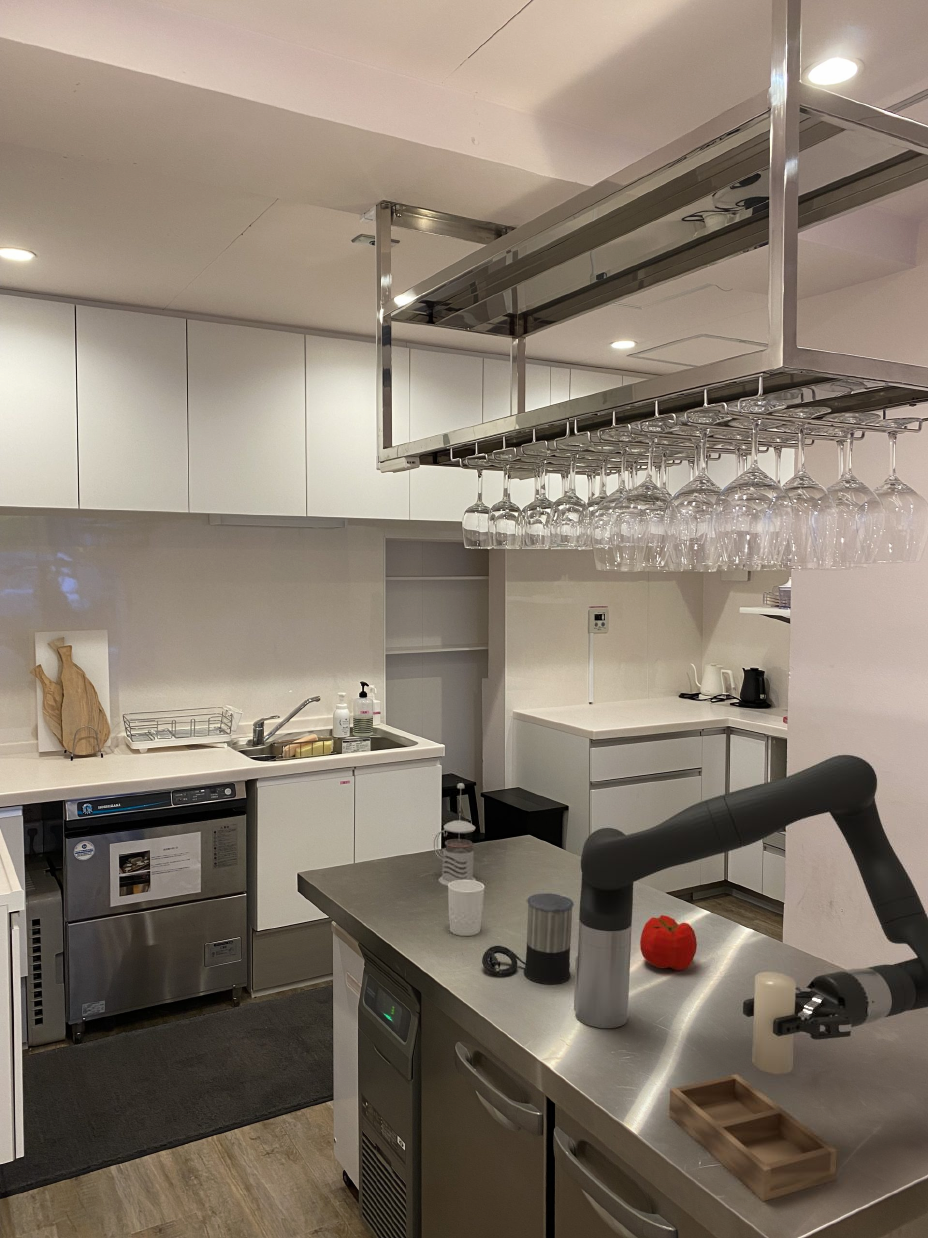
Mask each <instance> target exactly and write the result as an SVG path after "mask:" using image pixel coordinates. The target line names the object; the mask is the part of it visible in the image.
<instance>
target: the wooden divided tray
mask: <svg viewBox="0 0 928 1238" xmlns="http://www.w3.org/2000/svg"><path fill="white" fill-rule="evenodd" d="M668 1108H669V1109H668V1110H669V1111H668V1116H669V1117H670V1118H671V1119H672V1120H673V1121H674V1122H675V1123H677V1125H679V1126H680V1127H681V1128H682V1129H683V1130H684V1131H685V1132H686V1133H687V1134H689V1135H690V1137H692V1138H693V1139H694V1140H695V1141H696V1142H698V1143H699V1145H700V1146H702V1147H703V1148H704V1149H705V1150H706V1151H707V1152H708V1153H709V1154H711V1156H713V1158H715V1159H716V1160H717V1161H718V1162H719V1163H721V1164H722V1165H723V1166H724V1167H725V1168H727V1169H728V1172H729V1171H730V1173H732V1175H734V1176H735V1177H736V1178H737V1179H738V1180H739V1181H740V1182H742V1184H744V1185H745V1186H746V1187H747V1188H748V1189H749V1190H750V1191H751V1192H753V1193H754V1194H755V1195H756V1196H757V1197H758V1198H759V1199H760V1200H761V1201H763V1202H765V1201H769V1200H772V1199H775V1198H778V1197H781V1196H785V1195H788V1194H793V1193H795V1192H796V1193H797V1192H799V1191H803V1190H805V1189H808V1188H809V1189H810V1188H812V1187H815V1186H818V1185H823V1184H825V1183H830V1182H833V1181H836V1171H837V1156H838V1155H837V1153H838V1150H837V1149H836V1148H835V1147H833V1146H832V1145H831V1144H829V1143H828V1142H826V1140H824V1139H823V1138H821V1137H820V1136H819V1135H817V1134H816V1133H815V1132H814V1131H812V1130H811V1129H809V1128H808V1127H807V1126H805V1125H804V1124H803V1123H801V1122H800V1121H799V1120H798V1119H796V1118H795V1117H794V1116H792V1115H791V1114H790V1113H789V1112H787V1111H786V1110H784V1108H782V1107H781V1106H779V1105H777V1103H775V1102H774V1101H772V1100H771V1099H770V1098H769V1097H767V1096H766V1095H765V1094H763V1093H762V1092H760V1091H759V1090H758V1089H757V1088H755V1087H754V1086H752V1085H751V1084H750V1083H749V1082H748V1081H746V1080H744V1078H742V1077H741V1076H739V1075H738V1074H736V1073H735V1074H731V1075H727V1076H723V1077H718V1078H714V1079H708V1080H704V1081H700V1082H695V1083H692V1084H687V1085H683V1086H677V1087H674V1088H670V1090H669V1107H668Z"/></svg>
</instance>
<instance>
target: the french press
mask: <svg viewBox="0 0 928 1238" xmlns="http://www.w3.org/2000/svg"><path fill="white" fill-rule="evenodd" d="M456 788H457V789H459V790H460V791H459V792H460V793H459V810H461V807H462V804H461V801H462V789H465V784H464V783H463V782H461V783H459V782H458V784H457V785H456ZM475 830H476V825H473V824H472V823H471V822H469V821H466V820H461V814H459V819H458V820H452V821H450V822H447V823H446V824H444V825H443V830H441V831H439V832H438V833H437V834H435V837H434V838H433V839H434V840H433V849H434V852H435V854H436V855H437V857H438V858H439V859H441V860H442V870H441V871H442V872H441V873H442V875H441V876H440V877H439V878H438V882H439V883H440V884H442V885H444V886H447V887H448V884H449V883H451V882H453V881H457V880H473V881H477V878H475V877H474V876H473V875H474V855H475V854H474V850H475V849H474V847H472V846H473V845H474V843H473V842H472V841H471V840H469V839H462V838H460V837H461V836H460V834H467V833H472V832H474V831H475ZM445 831H446V832H445ZM448 832H449V833H450V832H451V833H453V834H454V833H455V834H458V838H453V839H447V840H445V842H444V844H445V847H443V850H442V852H443V853H442V852H441V851H440V848H439V837H440V834H442V833H443V837H447V835H448ZM435 843H436V844H435ZM436 849H437V850H436ZM459 849H460V850H459ZM456 850H459V851H456ZM462 850H464V851H462ZM437 851H438V853H439V854H440V856H439V855H438V853H437Z"/></svg>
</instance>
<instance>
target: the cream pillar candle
mask: <svg viewBox="0 0 928 1238" xmlns="http://www.w3.org/2000/svg"><path fill="white" fill-rule="evenodd" d="M796 987H797V981H795V979H794V978H793V977H791V976H789V975H787V974H785V973H782V972H781V973H780V972H775V971H774V972H773V971H762V972H758V973H757V974H756V975H755V976H754V996H753V998H754V1016H753V1024H752V1050H751V1052H752V1053H751V1062H752V1065H754V1067H755V1068H757V1069H759V1070H760V1071H763V1072H765V1073H768V1074H774V1075H785V1074H788V1073H790V1072H792V1070H793V1067H794V1066H793V1064H794V1044H795V1043H794V1040H795V1037H794V1036H795V1033H793V1034H789V1035H783V1036H777V1035H775V1034H774V1033H773V1021H774V1019H776V1018H780V1017H784V1016H789V1015H793V1014H795V993H796Z"/></svg>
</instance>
